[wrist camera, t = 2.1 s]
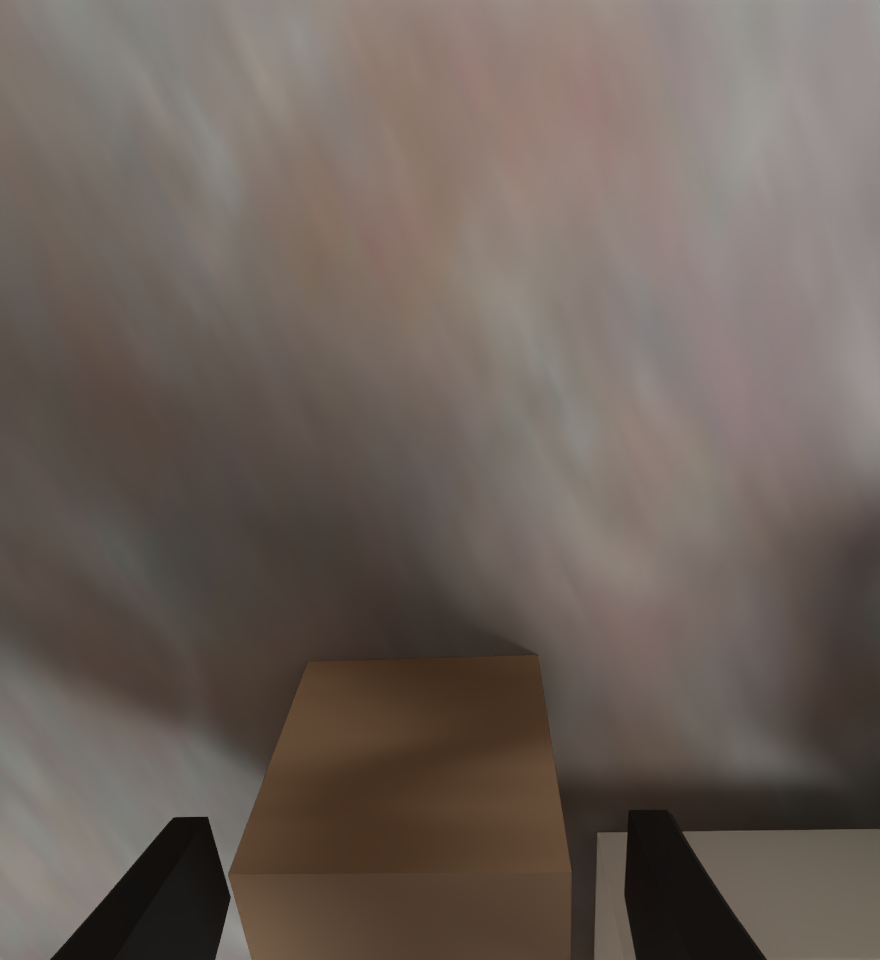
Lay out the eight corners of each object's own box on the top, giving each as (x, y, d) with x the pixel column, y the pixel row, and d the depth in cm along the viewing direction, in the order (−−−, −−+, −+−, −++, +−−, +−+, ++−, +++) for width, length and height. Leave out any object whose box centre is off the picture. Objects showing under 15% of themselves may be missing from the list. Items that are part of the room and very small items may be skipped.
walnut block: (537, 652, 12) (571, 872, 8) (540, 821, 14) (570, 1077, 10) (309, 658, 13) (228, 874, 8) (338, 823, 14) (282, 1072, 10)
